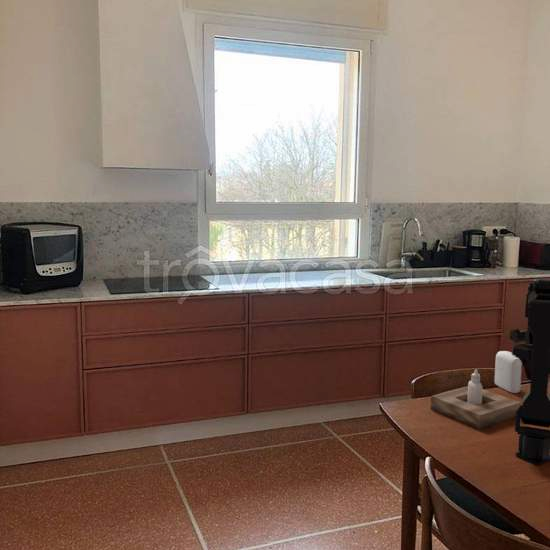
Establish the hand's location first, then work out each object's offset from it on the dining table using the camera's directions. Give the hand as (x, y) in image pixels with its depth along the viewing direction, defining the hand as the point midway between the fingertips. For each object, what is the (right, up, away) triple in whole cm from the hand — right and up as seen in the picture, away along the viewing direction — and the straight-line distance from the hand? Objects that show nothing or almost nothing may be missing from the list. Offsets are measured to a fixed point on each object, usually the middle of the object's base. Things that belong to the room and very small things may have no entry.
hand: (539, 376), depth 170 cm
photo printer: (+2, -9, +29) cm, 30 cm away
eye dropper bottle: (-16, -11, +8) cm, 21 cm away
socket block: (-16, -12, +8) cm, 21 cm away
